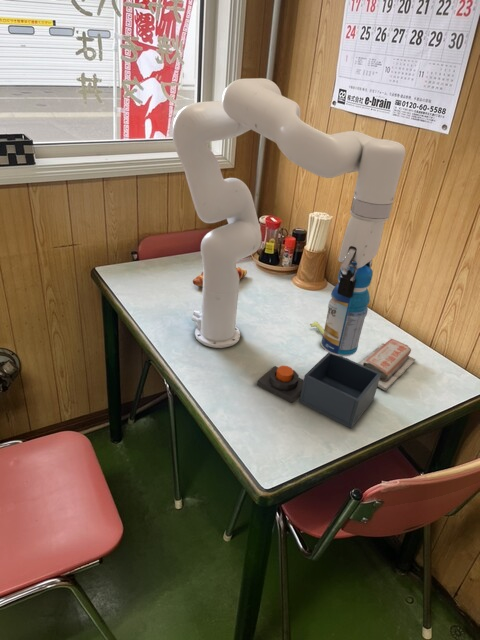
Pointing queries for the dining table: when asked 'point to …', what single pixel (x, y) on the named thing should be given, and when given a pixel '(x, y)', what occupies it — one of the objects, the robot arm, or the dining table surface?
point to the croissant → (199, 279)
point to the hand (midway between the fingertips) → (352, 288)
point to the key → (318, 328)
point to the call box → (281, 385)
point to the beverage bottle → (347, 315)
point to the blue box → (339, 388)
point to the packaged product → (389, 361)
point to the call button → (284, 373)
